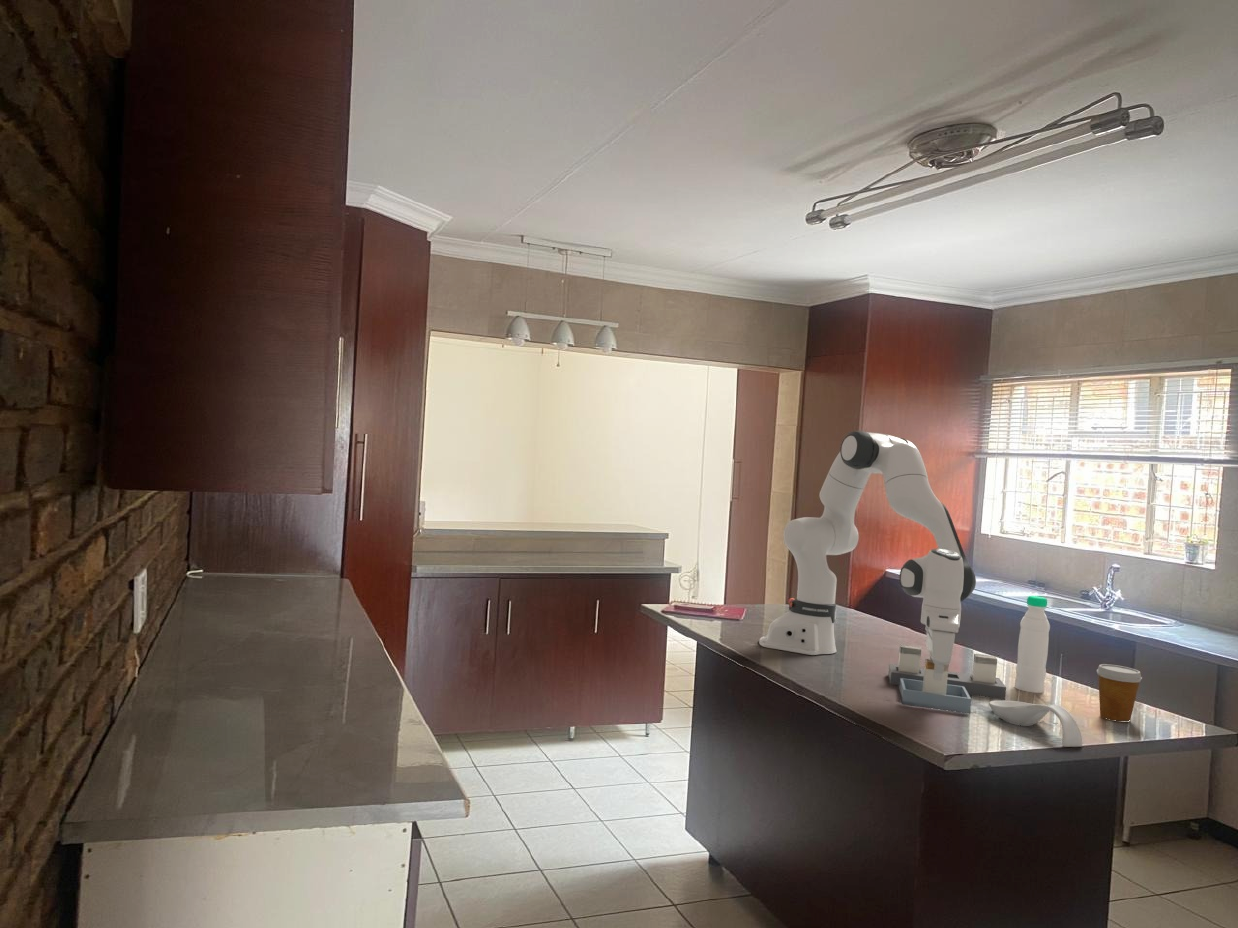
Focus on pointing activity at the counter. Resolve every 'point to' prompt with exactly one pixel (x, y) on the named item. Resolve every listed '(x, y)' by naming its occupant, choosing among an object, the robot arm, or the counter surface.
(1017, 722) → the spoon rest
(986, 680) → the block
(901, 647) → the block
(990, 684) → the fuse strip
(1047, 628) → the water bottle
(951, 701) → the tray
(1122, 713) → the disposable coffee cup
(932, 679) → the orange cap fuse
